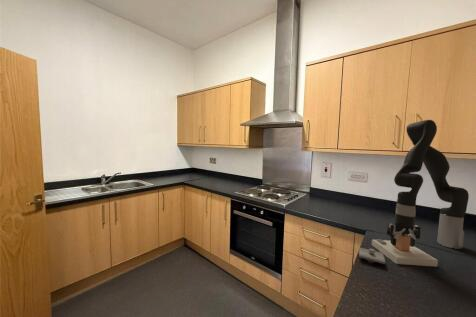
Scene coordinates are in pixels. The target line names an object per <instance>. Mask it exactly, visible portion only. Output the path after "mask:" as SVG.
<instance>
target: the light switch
mask: <svg viewBox="0 0 476 317" xmlns="http://www.w3.org/2000/svg"><path fill="white" fill-rule="evenodd" d="M358 255H359V256H358V257H359V258H361V259H364V260H366V261H367V263H369V264H374V263H375V262H376V263H379V264H382V265H386V259H385V255H384V254H383V253H382V252H380V251H376V250H375V249H373V248H368V249H367V248H365V247H358Z"/></svg>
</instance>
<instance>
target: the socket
mask: <svg viewBox="0 0 476 317" xmlns="http://www.w3.org/2000/svg"><path fill="white" fill-rule="evenodd" d="M371 246H372V247H374V248H375V249H376V250H378V252H380V253H383V255H384V257H387V258H388V259H389V260H391V261H392V262H393V263H394V264H396V265H406V266H407V265H409V266H411V265H412V266H423V267H435V268H436V267H438V265H439V264H438V263H439V260H438V259H437V258H435V257H433V256H431V255H430V254H428V253H426V252H424V251H423V250H422V249H420V248H418V247H416V245H414V247H411V246H410V250H409V252H403V251H399V250H398V249H396V248H395V246H393V245H392V244H391V240H387V239H380V238H376V239H371Z"/></svg>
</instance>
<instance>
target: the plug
mask: <svg viewBox="0 0 476 317" xmlns="http://www.w3.org/2000/svg"><path fill="white" fill-rule="evenodd" d="M410 239H411V237H409V235H407V234H401V235H400V236H398V237H397V238H396V246H395V248H396V249H398V250H399V251H403V252H409V250H410Z"/></svg>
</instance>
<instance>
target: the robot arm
mask: <svg viewBox="0 0 476 317" xmlns="http://www.w3.org/2000/svg"><path fill="white" fill-rule="evenodd" d="M437 131H438V127H437V123H436V122H435V121H434V120H433V119H425V120H424V119H423V120H420V121H417V122H412V123H409V124H408V125H407V126H406V134H407V137H408V138H409V139H410V141H411V143H412V144H413V147H412V148H410V149H409V151H408V152H407V153H406V155H405V157H404V162H403V165H402V166H401V168H400V169H399V170H398V171H397V173H396V174H395V176H394V179H393V180H394V184H395V185H396V186H398V187H401V188H402V187H403V188H408V189H409V188H410V190H409V191H398V193H397V200H396V205H395V216H394V221H395V223H394V224H392V223H387V229H386V235H387V236H389V237H390V241H391V244H392V245H393V246H396V238H397V237H398V236H400V235H401V234H406V235H408V236H409V237H411V239H410V246H411V247H414V246H416V244H415V243H416V240H417V239H418V240H419V239H420V238H421V226H419V225H417V224H415V223H416V222H415V221H416V212H417V210H416V206H417V197H418V194H419V191H420V189H421V187H422V186H423V182H424V178H423V176H422V175H421V174H418V172H421V170H422V167H423V165H424V166H425V168H426V170H427V171H428V175H429V176H430V179H431V181H432V183H433V185H434V188H435V191H436V194H437V197H438V198H439V200H441V201H443V202H446V203H451V204H450V206H449V207H442V208H440V210H439V211H440V212H439V220H438V230H437V241H436V243H437V242H438V243H439V245H440V244H441V245H440V246H443V247H447V248H450V249H453V248H454V249H455V250H460V249H463V248H464V247H463V246H464V238H465V231H464V229H463V228H464V222H465V221H464V219H465V214H466V213H467V207H468V203H469V198H470V197H469V195H470V194H469V191H468V190H467V188H466V189H465V188H463V187H458V186H453V185H452V186H451V185H450V184H449V183H448V181H447V175H448V173H449V171H450V168H451V167H450V163H449V162H448V159H447V157H446V156H445V154H443V152H442V151H440V150H438V149H436V148H434V147H433V146H431V145H432V142H433V141H434V138H435V137H436V135H437ZM438 243H437V244H438Z"/></svg>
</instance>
